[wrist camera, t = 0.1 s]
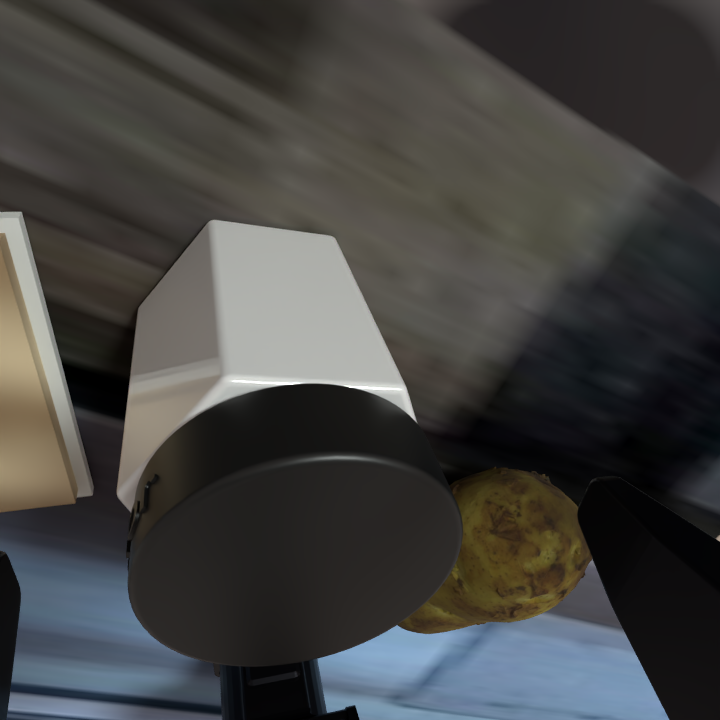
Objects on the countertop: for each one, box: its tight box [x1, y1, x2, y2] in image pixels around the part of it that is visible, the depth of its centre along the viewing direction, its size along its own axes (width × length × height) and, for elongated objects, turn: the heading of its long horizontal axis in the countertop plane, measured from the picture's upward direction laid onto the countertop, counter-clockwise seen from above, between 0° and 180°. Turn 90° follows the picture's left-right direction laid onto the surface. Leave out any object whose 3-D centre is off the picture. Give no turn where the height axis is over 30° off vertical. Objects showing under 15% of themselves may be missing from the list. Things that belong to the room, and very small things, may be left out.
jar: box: [117, 220, 463, 667], centre depth 19 cm, size 9×8×12 cm
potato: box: [398, 467, 592, 634], centre depth 30 cm, size 8×13×8 cm, turn 133°
